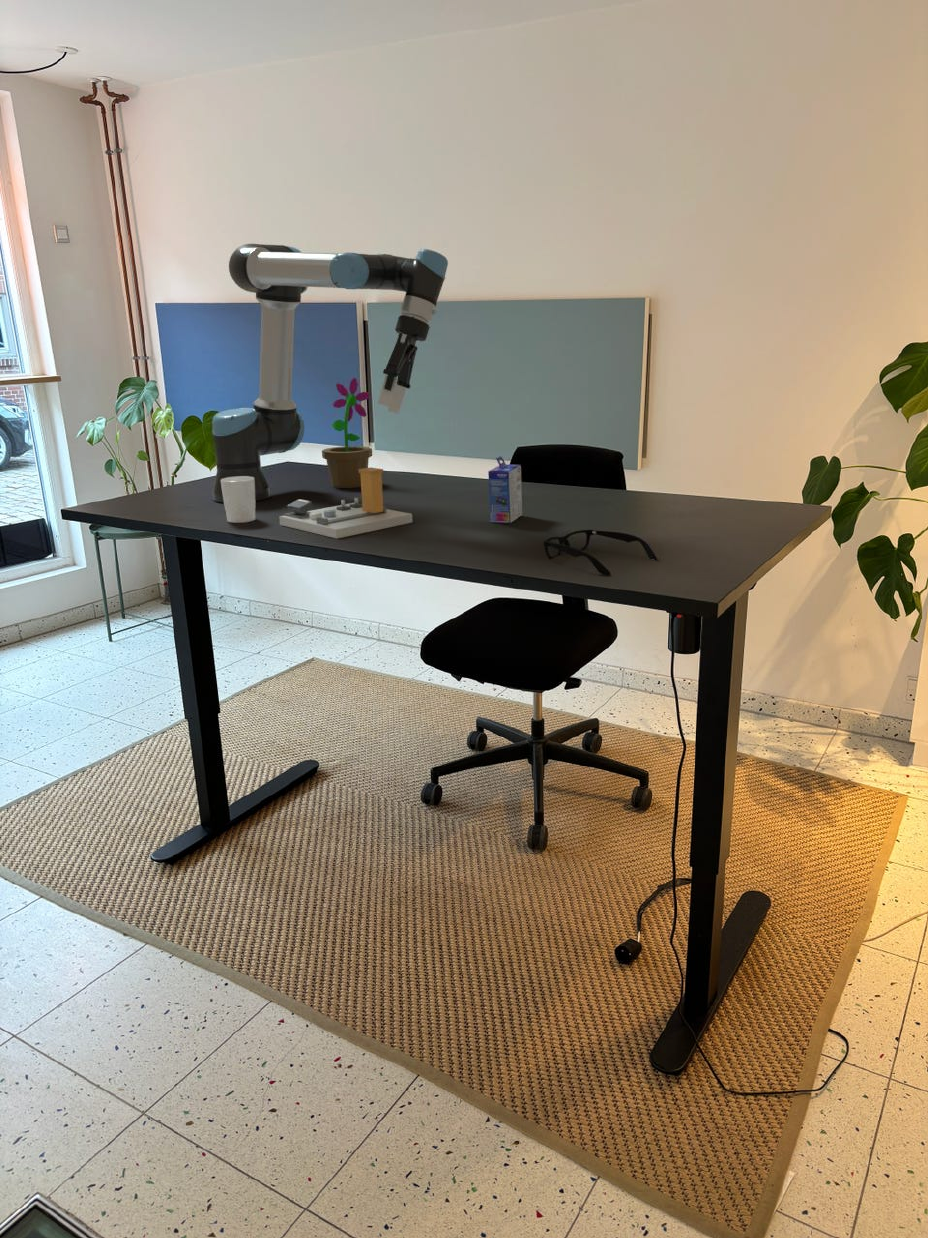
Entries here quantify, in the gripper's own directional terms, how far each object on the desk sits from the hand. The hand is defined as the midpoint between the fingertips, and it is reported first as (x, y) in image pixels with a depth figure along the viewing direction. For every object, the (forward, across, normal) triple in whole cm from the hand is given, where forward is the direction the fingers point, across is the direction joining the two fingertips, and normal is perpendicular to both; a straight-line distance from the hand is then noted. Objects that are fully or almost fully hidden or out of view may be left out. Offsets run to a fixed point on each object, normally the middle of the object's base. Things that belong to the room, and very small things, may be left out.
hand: (388, 408), depth 216 cm
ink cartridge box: (+16, 0, -34) cm, 38 cm away
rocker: (+28, -5, +12) cm, 31 cm away
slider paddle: (+24, -4, -4) cm, 24 cm away
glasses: (+19, -38, -55) cm, 69 cm away
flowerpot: (+21, +48, +14) cm, 55 cm away
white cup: (+36, 0, +27) cm, 45 cm away
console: (+28, -4, +1) cm, 29 cm away
